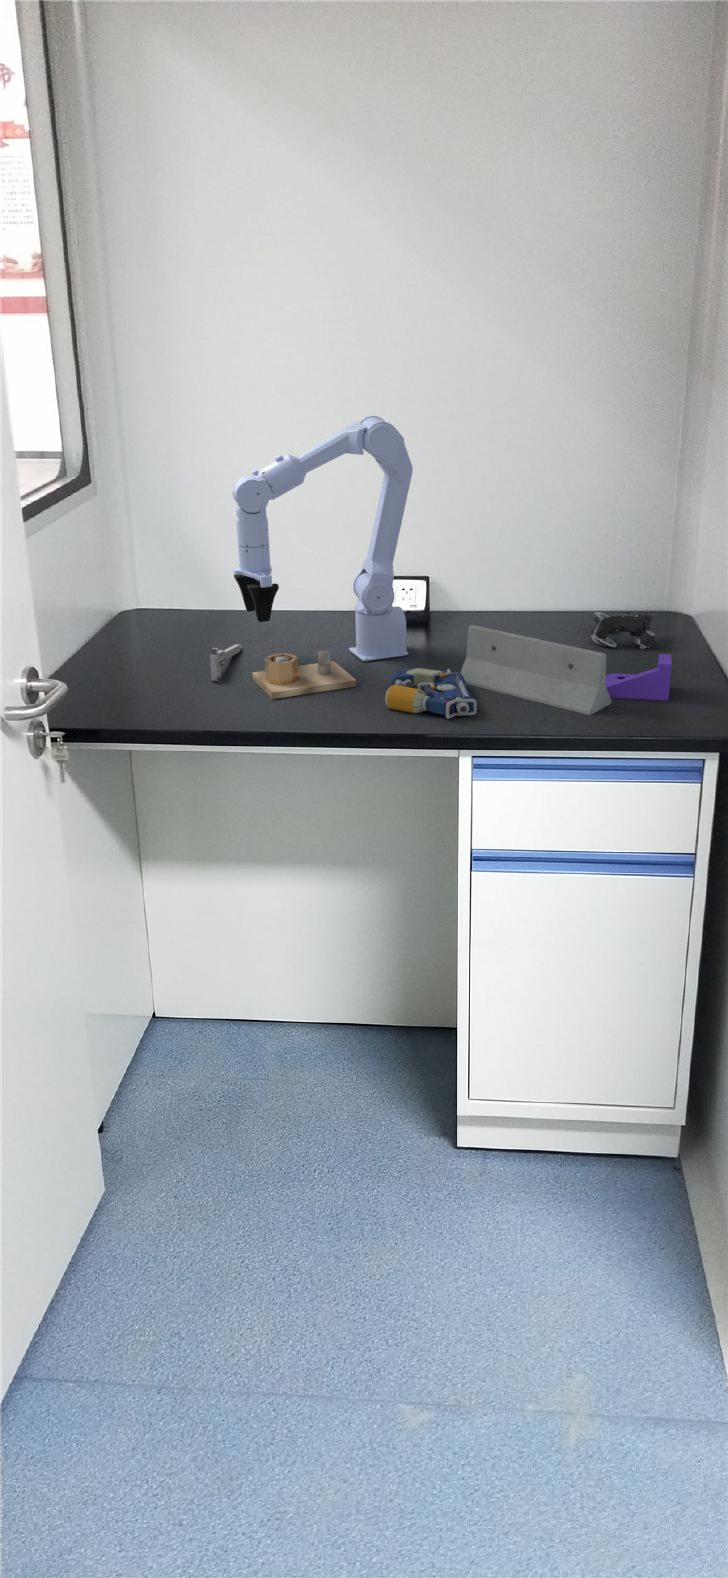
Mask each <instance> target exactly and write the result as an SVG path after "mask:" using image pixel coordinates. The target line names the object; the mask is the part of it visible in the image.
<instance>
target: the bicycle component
mask: <svg viewBox="0 0 728 1578" xmlns="http://www.w3.org/2000/svg"><path fill="white" fill-rule="evenodd" d="M594 615H596V616H595V617H593V618H592V620H593V622H594V623H595V624H596V625H597V627H596V628H595V629H594V632H593V634H591V635H590V636H591V640H592V641H593V642H595V643H596V644H597V645H601V646H603V647H607V648H616V647H617V646H618V644H617V643H616V642H615V641H614V640H612V639H611V638H610V637H609V634H610V633H614V632H624V633H625V632H627V633H629V636H632V637H637V638H635V639H634V643H635V644H636V645H638V646H639V649H641V650H645V649H646V648H649V649H650V648H651V646H652V644H653V642H654V640H655V637H656V634H655V633H654V632H653V631H651V621H652V620H653V616H651V615H649V614H648V613H645V614H641V613H637V614H635V615H633V614H631V613H630V611H626V612H624V614H623V616H622V615H616V616H609V615H608V614H605V613H603V612H601V611H599V612H598V611H594ZM638 637H639V638H638Z"/></svg>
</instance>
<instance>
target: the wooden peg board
mask: <svg viewBox="0 0 728 1578" xmlns="http://www.w3.org/2000/svg"><path fill="white" fill-rule="evenodd" d="M330 654H331V653H330V651H329V650H319V651H317V662H316V663H310V664H304V665H303V664H302V665H298V670H299V680H297V681H296V682H294V683H292V684H285V685H276V684H269V683H268V682H267V681H266V677H265V670H261V671H254V672H251V674H252V680H253V681H255V683H256V684H257V685H258V686H259V688H261V690H262V691H263V692H264V693H265V694H266V695H267V696H268V697H270V699H271V700H276V699H282V698H283V699H284V698H289V697H296V696H302V695H308V694H310V695H311V694H314V693H315V694H316V693H322V692H329V691H334V690H340V689H347V688H348V689H349V688H354V687H357V679H356V678H355V677H353V676H352V675H351V674H350V673H349V672H347V671H346V670H345V669H344V667H342V666H340V665H339V664H338V663H337V662H335V661H334V660H331V655H330ZM286 661H288V657H284V656H281V657H277V658H276V662H286Z"/></svg>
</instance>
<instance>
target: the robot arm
mask: <svg viewBox="0 0 728 1578" xmlns="http://www.w3.org/2000/svg"><path fill="white" fill-rule="evenodd" d="M364 451H365V452H367V453H368V454H369V455H370V456H372V457H373V458H374V460H375V461H376V463H377V464H378V467H380V469H381V470H382V472H383V478H382V482H381V483H382V484H381V488H380V493H379V497H378V503H377V506H376V507H377V508H376V511H375V516H374V520H373V521H374V522H373V527H372V531H371V536H370V540H369V541H370V542H369V545H368V551H367V555H366V557H365V559H364V560H363V562H362V564H361V569H360V571H359V573H358V574H357V575H356V576H355V578H354V581H353V585H352V587H353V593H354V594H355V596H356V597H357V599H358V602H357V603H356V605H355V607H354V610H355V612H354V613H355V614H354V615H355V644H356V645H355V646H352V647H349V648H348V650H349V652H350V653H352V654H353V655H355V656H356V657H357V658H358V659H360V660H361V661H362V662H368V661H375V660H377V661H378V660H383V659H389V658H396V657H398V658H399V657H404V656H408V655H409V651H407V619H406V614H405V612H404V610H403V608H402V607H401V606H394V605H393V604H394V601H395V590H394V584H393V583H394V579H395V578H394V577H395V575H394V561H395V560H394V559H395V557H396V555H395V554H396V550H397V545H398V541H399V536H400V533H401V527H402V524H403V523H402V522H403V518H404V513H405V510H406V504H407V501H408V495H409V490H410V487H411V481H412V475H413V471H414V470H413V469H414V467H413V465H412V462H411V461H412V460H411V459H410V456H409V452H408V450H407V447H406V444H405V438H404V437H403V436H402V434H401V433H400V431H399V430H398V429H397V428H396V427H395V426H394V424H392V423H390V422H388V421H385V420H384V419H383V418H381V417H379V416H377V415H369V416H365V418H363V419H361V421H356V422H353V423H351V424H348V425H347V426H346V427H343V428H342V429H341V430H339V431H336V433H333V435H331V436H329V437H328V438H327V437H326V439H324V440H322V441H321V442H319V443H318V444H316V445H314V446H313V447H312V448H310V449H308V450H307V451H305V452H304V453H301V454H300V455H298V456H294V455H292V454H285V455H284V456H282V454H278V455H276V456H275V457H274V460H275V461H273V462H272V463H269V464H268V465H266V466H265V467H263V468H261V469H259V470H258V469H254V470H252V471H251V473H252V475H250V476H249V475H246V476H242V477H240V478H239V479H238V480H237V481H236V483H235V484H234V486H233V491H232V497H233V499H234V501H235V502H236V504H237V505H236V514H235V515H236V516H237V517H236V520H235V521H236V536H237V547H238V548H237V549H238V560H239V561H238V563H239V566H238V567H237V568H233V578H234V580H235V581H236V583H237V586H238V588H239V589H240V594H241V596H242V600H243V603H244V607H245V610H246V612H255V615H256V619H257V622H258V623H263V622H270V620H271V615H272V612H273V611H272V610H273V609H272V608H273V605H274V600H275V598H276V594H277V592H278V591H279V589H280V586H279V584H278V583H273V577H272V575H271V574H272V572H273V571H272V566H271V557H270V556H271V555H270V554H271V553H270V552H271V551H270V536H269V534H270V533H269V522H268V521H269V518H267V506H268V504H269V502H270V501H271V500H272V501H274V500H276V499H277V498H279V497H281V496H283V495H284V494H286V493H288V492H290V491H292V490H294V489H295V488H296V487H299V486H300V485H302V484H303V483H304V481H305V478H306V475H307V473H309V472H311V471H313V470H316V469H317V468H319V467H321V466H323V465H325V464H327V463H329V462H331V461H333V460H335V459H337V458H339V457H341V456H343V455H345V454H349V455H361V456H364Z"/></svg>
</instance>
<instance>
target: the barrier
mask: <svg viewBox="0 0 728 1578" xmlns="http://www.w3.org/2000/svg"><path fill="white" fill-rule="evenodd" d="M467 629H468V630H467V642H466V643H467V644H466V646H467V647H466V656H465V660H464V662H463V665H462V667H461V671H460V673H461V674H462V675H463V678H464V680H465V685H466V684H467V685H471V686H473V687H476V688H477V687H478V688H481V689H485V690H489V691H493V692H497V693H501V694H505V695H507V696H508V695H510V696H513V697H517V698H521V699H524V700H528V701H532V702H537V703H540V704H545V705H548V706H551V707H556V708H561V709H564V710H568V711H571V712H576V713H580V714H583V715H587V716H591V715H593V714H595V713H596V712H599V711H601V710H603V709H604V708H605V707H608V706H610V705H612V699H611V697H610V696H609V693H608V691H607V688H606V686H605V683H606V675H607V674H606V673H607V654H606V653H604V652H600V651H599V652H598V651H594V650H590V649H585V648H582V647H575V646H572V645H568V644H562V643H558V642H552V641H548V640H543V639H539V638H535V637H530V636H525V635H520V634H516V633H512V632H507V631H504V630H503V631H502V630H497V629H493V628H489V627H484V626H480V625H475V624H471V625H469V626H468V628H467Z"/></svg>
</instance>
